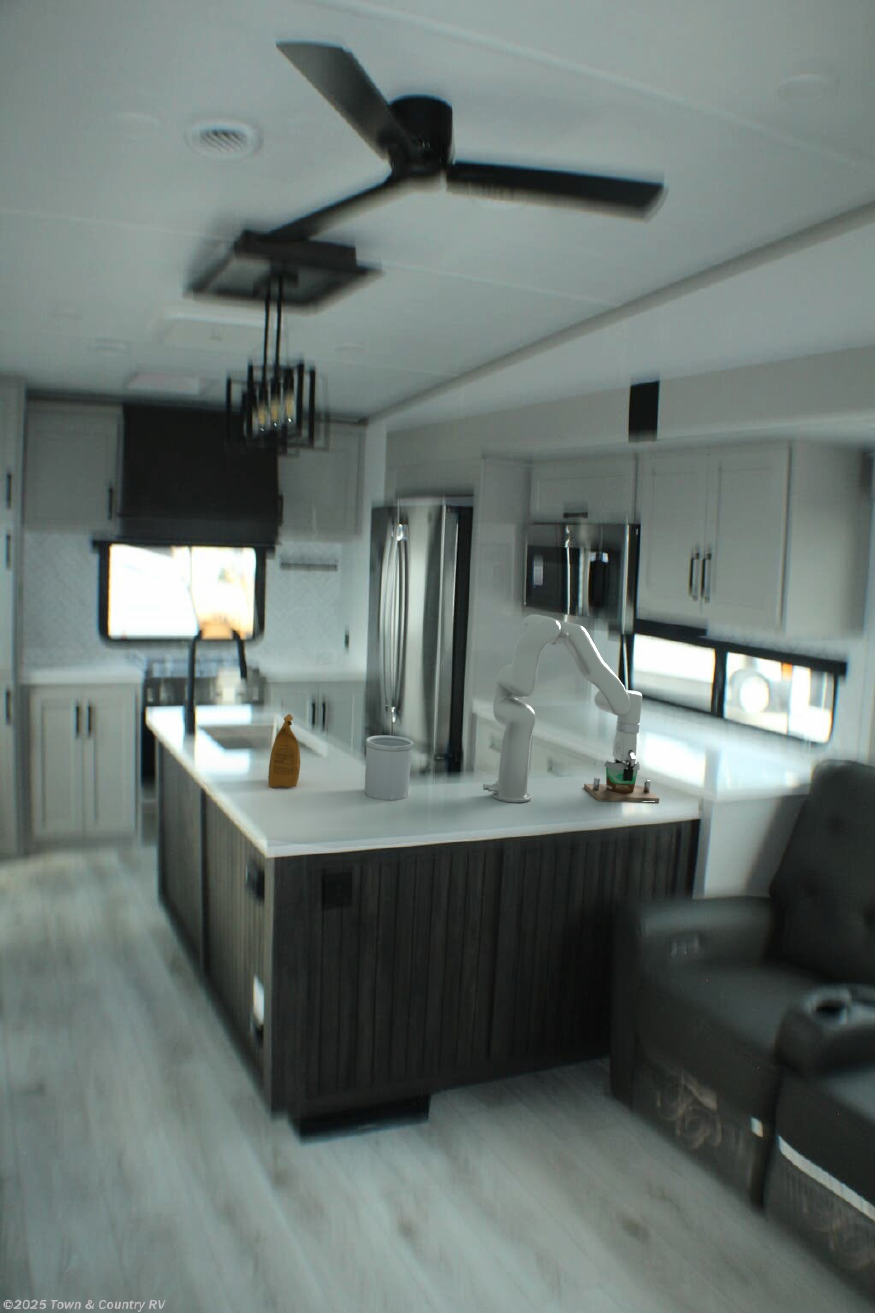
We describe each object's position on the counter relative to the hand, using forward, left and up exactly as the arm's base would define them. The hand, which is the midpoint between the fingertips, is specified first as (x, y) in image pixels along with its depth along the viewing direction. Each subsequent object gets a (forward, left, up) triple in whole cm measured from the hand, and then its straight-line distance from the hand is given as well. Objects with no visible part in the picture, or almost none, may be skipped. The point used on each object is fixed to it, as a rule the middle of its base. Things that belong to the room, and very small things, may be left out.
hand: (622, 777), depth 336 cm
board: (0, 0, -6) cm, 6 cm away
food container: (0, -2, -5) cm, 5 cm away
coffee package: (-113, -1, -6) cm, 113 cm away
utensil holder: (-81, -9, -7) cm, 82 cm away
